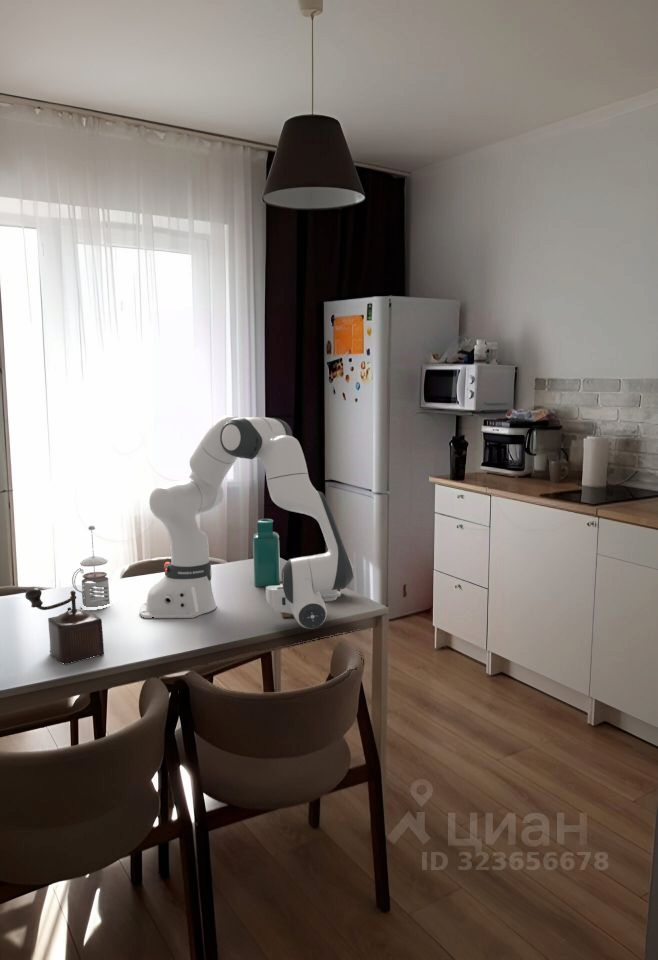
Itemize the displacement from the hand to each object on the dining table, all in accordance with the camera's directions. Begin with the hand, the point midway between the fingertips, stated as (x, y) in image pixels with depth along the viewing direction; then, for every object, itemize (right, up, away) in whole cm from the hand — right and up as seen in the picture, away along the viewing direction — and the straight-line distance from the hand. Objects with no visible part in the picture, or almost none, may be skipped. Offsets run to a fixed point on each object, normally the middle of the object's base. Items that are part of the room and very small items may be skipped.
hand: (298, 585), depth 214 cm
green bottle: (-12, -4, +32) cm, 34 cm away
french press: (-63, -8, +11) cm, 65 cm away
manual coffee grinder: (-57, -14, -30) cm, 66 cm away
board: (-1, -7, +7) cm, 10 cm away
